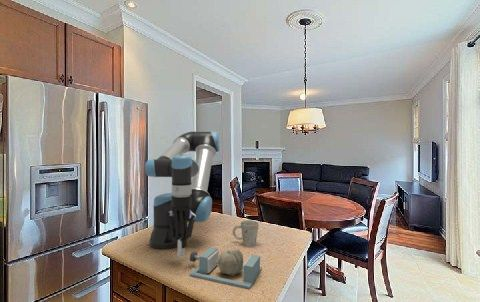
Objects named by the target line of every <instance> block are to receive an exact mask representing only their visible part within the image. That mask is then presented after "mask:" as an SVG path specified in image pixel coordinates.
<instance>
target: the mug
mask: <svg viewBox="0 0 480 302" xmlns="http://www.w3.org/2000/svg"><path fill="white" fill-rule="evenodd" d="M259 224H260V223H259V222H258V221H256V220H243V221H240V225H239V224H238V225H235V226H234V227H233V229H232V235H233V237H234V238H236V239H237V240H242V244H243V246H246V247H254V246H256V245H257V238H258V231H259ZM237 229H241V235H242V237H239V236H237V234H236V230H237Z"/></svg>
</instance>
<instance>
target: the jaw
mask: <svg viewBox="0 0 480 302" xmlns="http://www.w3.org/2000/svg"><path fill="white" fill-rule="evenodd" d="M219 257H220V254H219V249H218V248H217V247H213V246H210V247H209V248H208V249H207V250H205V251H204V252H203V253H201V255H198V252H197V251H195V250H193V251H191V253H190V255H189V261H190V262H192V263H195V262H196V261H197V260H198V261H199V262H198V266H199V272H198V273H201V274H205V275H208V274H210V273H211V272H212V271H213V270H214V269H215V268H216V267H217V265H218V264H216V261H217V262H218V261H219Z"/></svg>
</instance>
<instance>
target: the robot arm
mask: <svg viewBox="0 0 480 302" xmlns="http://www.w3.org/2000/svg"><path fill="white" fill-rule="evenodd" d="M219 138H220V137H219V133H218V132H217V131H211V130H210V131H188V132H185V133H183V134H180V135H179V136H177V137H176V138H175V139H174V140H173V142H172V144H171V145H170V146H169V147H168V148H167V149H166V150H165V151H164V152H163V153H162V154H160V155H159V156H158V158H156V159H155V158H152V159H148V160H147V161H146V162H145V164H144V165H145V166H144V170H145V174H146V176H147V177H150V178H151V177H152V178H171V192H168V193H162V194H159V195H157V196H155V197H154V198H153V229H152V231H151V233H150V238H149V246H150V248H154V249H159V250H165V249H166V250H167V249H173V248H177V258H182V257H184V256H185V255H186V247H187V243H188V242H187V240H188V239H190V238H191V237H192V235H193V232H194V231H193V230H194V226H195V223H203V222H207V221H208V220H209V219H210V216H211V213H212V208H213V207H212V206H213V199H212V197H211V195H210V193H209V192H208V188H209V182H210V178H211V177H210V176H211V169H212V163H213V157H216V154H217V153H219V152H220V140H219ZM188 152H195V154H196V159H192V156H190V155H184V154H187V153H188Z"/></svg>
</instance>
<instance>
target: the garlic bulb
mask: <svg viewBox="0 0 480 302" xmlns="http://www.w3.org/2000/svg"><path fill="white" fill-rule="evenodd" d="M216 264H218V268H219V270H220V273H221V274H224V275H225V274H226V275H227V276H233V277H234V276H236V275H237V274H239V273H241V272H243V268H242V265H243V264H244V255H243V253H242V252H241V250H240V249H237V248H232V249H230V248H228V249H225V250H223V251H222V252H221V253H220V254H219V261H218V262H217V261H216Z"/></svg>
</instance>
